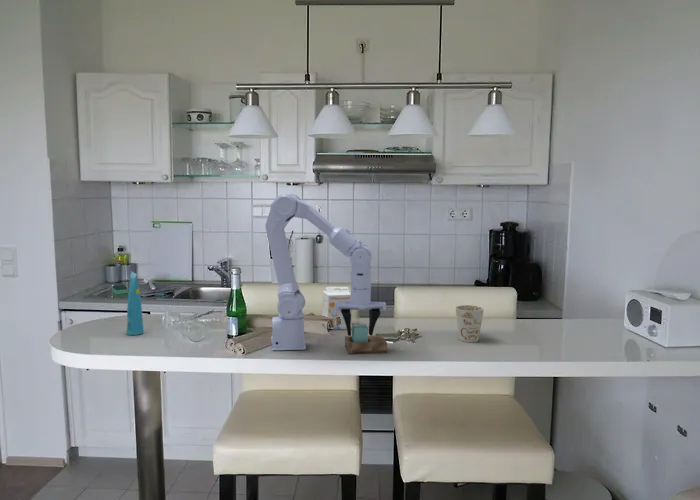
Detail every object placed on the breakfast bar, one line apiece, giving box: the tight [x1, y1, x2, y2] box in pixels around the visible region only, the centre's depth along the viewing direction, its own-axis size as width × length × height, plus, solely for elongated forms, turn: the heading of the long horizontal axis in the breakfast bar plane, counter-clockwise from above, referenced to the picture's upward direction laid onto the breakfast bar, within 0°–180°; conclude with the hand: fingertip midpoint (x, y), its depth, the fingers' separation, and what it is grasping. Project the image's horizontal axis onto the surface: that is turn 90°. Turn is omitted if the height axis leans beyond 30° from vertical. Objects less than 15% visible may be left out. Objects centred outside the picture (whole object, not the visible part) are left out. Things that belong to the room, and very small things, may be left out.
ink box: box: [321, 286, 353, 331], centre depth 176 cm, size 9×8×13 cm
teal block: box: [351, 324, 369, 343], centre depth 150 cm, size 4×4×6 cm
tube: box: [126, 271, 144, 336], centre depth 163 cm, size 7×5×19 cm, turn 39°
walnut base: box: [344, 335, 388, 355], centre depth 151 cm, size 11×8×3 cm
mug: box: [455, 304, 484, 343], centre depth 164 cm, size 8×13×10 cm, turn 152°
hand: (359, 334), depth 150 cm, fingers open, 6 cm apart
